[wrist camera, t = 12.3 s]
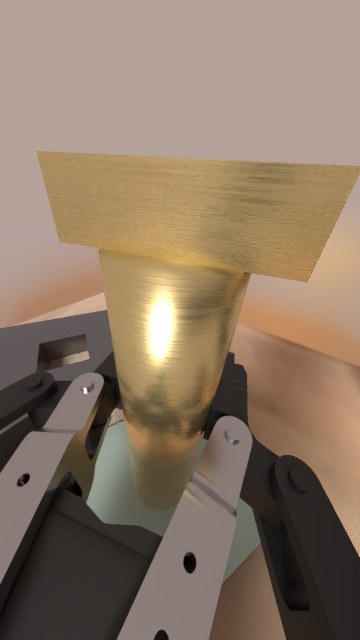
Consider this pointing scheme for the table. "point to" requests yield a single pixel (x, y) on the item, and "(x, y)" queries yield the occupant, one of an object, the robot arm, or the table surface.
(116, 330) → the t key
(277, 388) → the table surface
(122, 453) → the mat
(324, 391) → the table surface
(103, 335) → the cover plate
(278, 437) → the table surface
